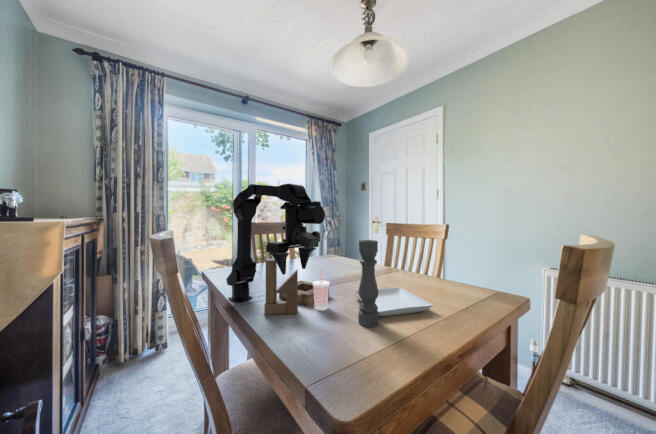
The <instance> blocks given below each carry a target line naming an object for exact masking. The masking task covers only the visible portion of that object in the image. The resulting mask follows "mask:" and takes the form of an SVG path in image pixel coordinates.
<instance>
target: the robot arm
mask: <svg viewBox="0 0 656 434" xmlns="http://www.w3.org/2000/svg"><path fill="white" fill-rule="evenodd" d="M253 196H254V197H253ZM263 196H267V197H273V198H275V197H276V198H277V199H278V200H281V201H283V202H284V203H283V204H281V206H280V207H279V209H280V210H284V212H285V213H284V225H285V226H282V230H283V231H284V238H282V241H270V242H268V243H267V244H266V245H265V252H266V253H269V255H271V256H272V257H273V259H275V260H276V263H277V266H278V268H279V271H280V272H281V274H282V275H286V273H287V258H288V256H289V255H290V253H289V250H290V249H295V248H298V253H299V254H298V255H299V259H300V265H301V269H302V270H305V269H306V268H307V264H308V262H309V259H310V256H311V253H313V252H314V251H315V250H316V249H317V248H318V247H319V243H320V242H321V233H320V231H317V230H315V231H312V232H308V231H307V226H305V225H304V224H307V225H308V224H309V225H310V224H311V225H314V224H315V225H321V224H322V223H323V222H324V221H325V217H326V213H325V210H324V208H323V206H322V202H321V201H316V200H315V201H312V200H311V198H310V197H309V195H308V194H307V191H306V187H305V186H303V185H301V184H294V183H283V184H280V185H266V184H261V183H249V185H248V186H247V187H246V188H245V189H244V190H241V192H239V193H238V194H237V195H236V196H235V198H234V199H233V201H232V207H233V208H232V209H233V211H232V212H233V214H234V216H235V218H236V219H237V241H236V242H237V243H236V245H237V248H236V259H235V260H234V262H233V263H232V266H231V271H230V274H229V275H227V278H226V285H228V286H231V297H228V300H229V301H232V302H235V303H242V302H244V301H247V300H250V299H252V298H253V296H252V295H250V283H252V282H254V279H255V275H256V273H257V261H254V260H253V258H252V222H253V221H252V220H253V219H254V216H255V215H256V213H257V209H258V208H257V207H258V206H259V205H260V203H261V202H262V197H263Z"/></svg>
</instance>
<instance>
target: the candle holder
mask: <svg viewBox="0 0 656 434" xmlns="http://www.w3.org/2000/svg"><path fill="white" fill-rule="evenodd" d="M378 245H379V243H378V240H373V239H365V240H364V239H362V240H361V239H360V240H358V252H359V255H360V258H361V259H359V264H361V278H360V283H359V287H358V294H359V296H360V298H361V302H360V304H359V307H358V312H357V313H358V318H357V319H358V322H357V323H358V324H359V326H361V327H365V328H375V327H378V325H380V323H379V321H380V318H379V317H380V316H379V312H378V311H377V310H378V306H377V305H376V304H375V302H376V299H377V297H378V294H379V292H378V289H379V288H378V285H377V284H378V283H377V279H376V274H375V272H376V271H375V269H376V268H375V267H376V265H377V264H378V260H376V259H375V258H376V256H377V254H378Z"/></svg>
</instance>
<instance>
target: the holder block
mask: <svg viewBox="0 0 656 434" xmlns="http://www.w3.org/2000/svg"><path fill="white" fill-rule="evenodd" d="M312 283H313V282H309V281H304V280H298V289H297V290H298V305H299V304H300V305H301V306H302V305H303V306H306V307H309V306H312V305H314V290H313V284H312ZM286 294H287V293H278V295H279V297H278V298H279V299H281V300H283V301H284V300H285V301H287V298H286ZM329 297H330V291H329V292H328V298H329Z"/></svg>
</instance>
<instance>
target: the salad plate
mask: <svg viewBox="0 0 656 434" xmlns="http://www.w3.org/2000/svg"><path fill="white" fill-rule="evenodd" d="M358 291H359V290H358ZM358 291H357V290H355V291H353V292H352V293H353V295H354V297H355V298H357V299H358V300H359V301H361V298H360V296H359V294H358ZM378 292H379V294H378V297H377V299H376V302H375V304H376V305H377V306H378V310H377V311H378V312H379V317H382V316H384V317H386V316H387V317H388V316H395V315H405V314H413V313H417V312H422V311H423V312H425V311H426V310H428V309H430V308H432V307H433V304H432V303H430V302H428V301H426V300H425V299H422V298H421V297H419V296H417V295H415V294H413V293H411V292H409V291H407V290H405V289H404V288H402V287H391V288H390V287H389V288H378ZM361 302H362V301H361Z"/></svg>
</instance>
